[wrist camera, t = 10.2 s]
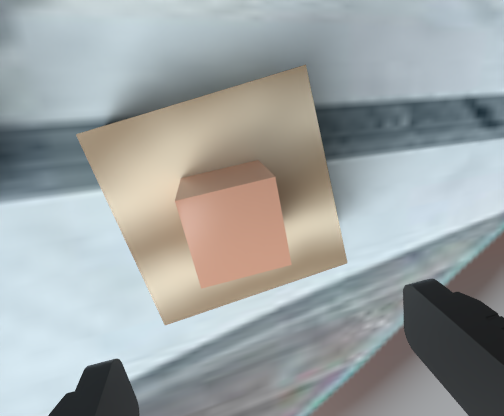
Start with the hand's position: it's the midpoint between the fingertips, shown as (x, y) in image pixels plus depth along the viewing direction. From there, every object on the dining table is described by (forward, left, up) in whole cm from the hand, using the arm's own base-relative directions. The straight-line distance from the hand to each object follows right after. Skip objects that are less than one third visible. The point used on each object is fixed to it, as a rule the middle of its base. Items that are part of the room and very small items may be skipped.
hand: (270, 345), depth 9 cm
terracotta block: (0, 0, -13) cm, 13 cm away
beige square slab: (0, 0, -19) cm, 19 cm away
